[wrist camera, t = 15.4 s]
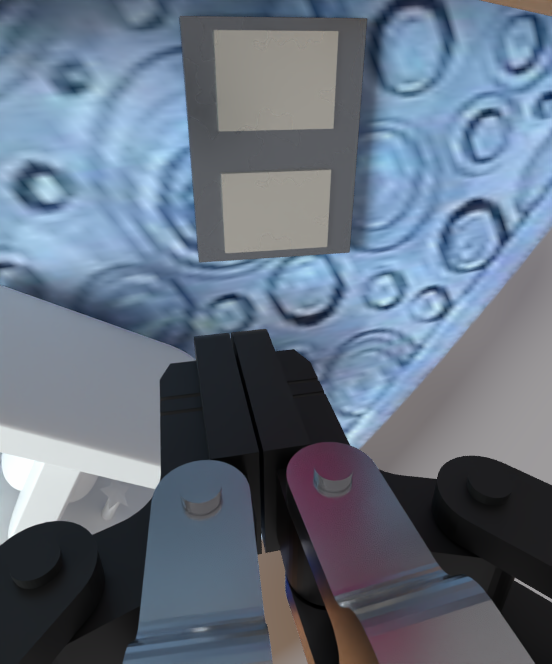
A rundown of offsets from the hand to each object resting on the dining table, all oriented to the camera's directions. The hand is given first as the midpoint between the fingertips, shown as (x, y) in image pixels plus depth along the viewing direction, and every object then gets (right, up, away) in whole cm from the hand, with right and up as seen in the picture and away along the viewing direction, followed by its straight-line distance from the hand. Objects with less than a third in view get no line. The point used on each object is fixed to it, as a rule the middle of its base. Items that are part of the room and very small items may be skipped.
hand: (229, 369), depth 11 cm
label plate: (+1, +11, +17) cm, 20 cm away
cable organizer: (-12, -2, +22) cm, 25 cm away
